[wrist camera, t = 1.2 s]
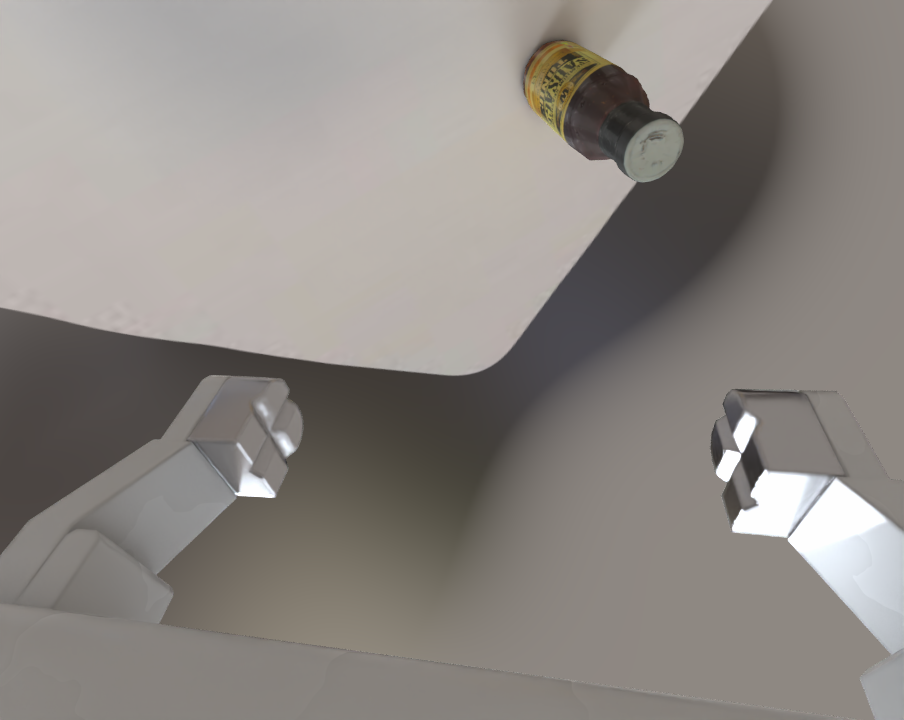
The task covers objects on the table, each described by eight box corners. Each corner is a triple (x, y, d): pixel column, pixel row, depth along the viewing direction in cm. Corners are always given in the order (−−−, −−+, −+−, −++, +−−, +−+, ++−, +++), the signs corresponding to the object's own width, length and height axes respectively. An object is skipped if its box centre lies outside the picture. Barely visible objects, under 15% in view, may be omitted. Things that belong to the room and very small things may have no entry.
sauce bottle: (539, 25, 42) (652, 67, 28) (596, 55, 45) (728, 109, 30) (506, 103, 46) (591, 177, 31) (560, 127, 48) (663, 206, 34)
